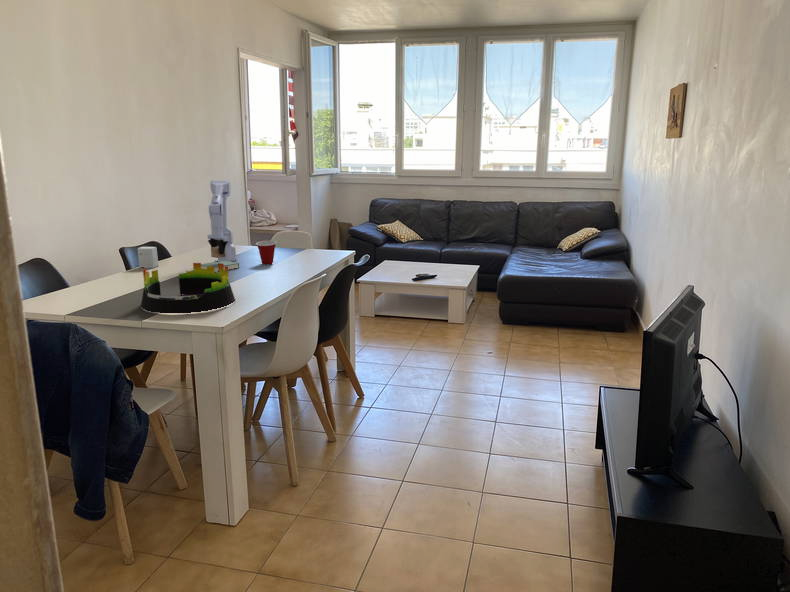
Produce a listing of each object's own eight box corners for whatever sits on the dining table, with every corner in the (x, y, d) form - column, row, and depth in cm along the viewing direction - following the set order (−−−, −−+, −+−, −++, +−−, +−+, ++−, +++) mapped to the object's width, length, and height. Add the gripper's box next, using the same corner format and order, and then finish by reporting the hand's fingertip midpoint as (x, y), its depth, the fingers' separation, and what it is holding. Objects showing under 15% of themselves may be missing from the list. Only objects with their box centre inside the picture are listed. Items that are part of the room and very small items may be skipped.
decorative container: (123, 315, 234) (119, 276, 231) (163, 292, 270) (160, 259, 266) (218, 317, 232) (216, 278, 229) (246, 294, 268) (244, 260, 265)
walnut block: (219, 255, 322) (219, 246, 321) (225, 256, 319) (224, 247, 318) (211, 256, 318) (210, 247, 317) (217, 258, 315) (216, 248, 314)
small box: (158, 266, 326) (157, 246, 323) (153, 268, 321) (151, 248, 318) (144, 266, 327) (142, 246, 324) (139, 268, 321) (137, 248, 319)
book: (225, 265, 330) (224, 260, 329) (239, 268, 323) (239, 262, 322) (199, 270, 318) (199, 264, 317) (213, 273, 311) (213, 267, 310)
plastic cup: (252, 264, 331) (251, 242, 329) (264, 261, 341) (263, 240, 338) (270, 266, 327) (269, 244, 325) (281, 263, 337) (280, 241, 334)
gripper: (201, 227, 316) (203, 253, 320) (218, 229, 308) (220, 256, 311) (213, 225, 322) (215, 251, 325) (230, 228, 313) (232, 254, 316)
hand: (218, 253), depth 318 cm, fingers closed on walnut block, 5 cm apart
